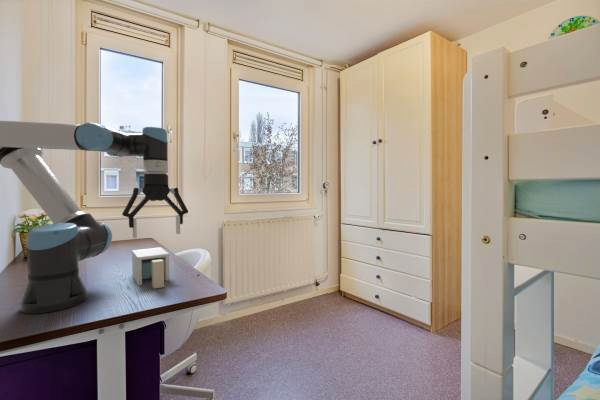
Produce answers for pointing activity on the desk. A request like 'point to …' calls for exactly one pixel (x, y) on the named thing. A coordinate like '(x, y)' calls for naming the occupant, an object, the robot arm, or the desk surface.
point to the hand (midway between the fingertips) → (157, 235)
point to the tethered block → (153, 271)
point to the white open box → (148, 254)
